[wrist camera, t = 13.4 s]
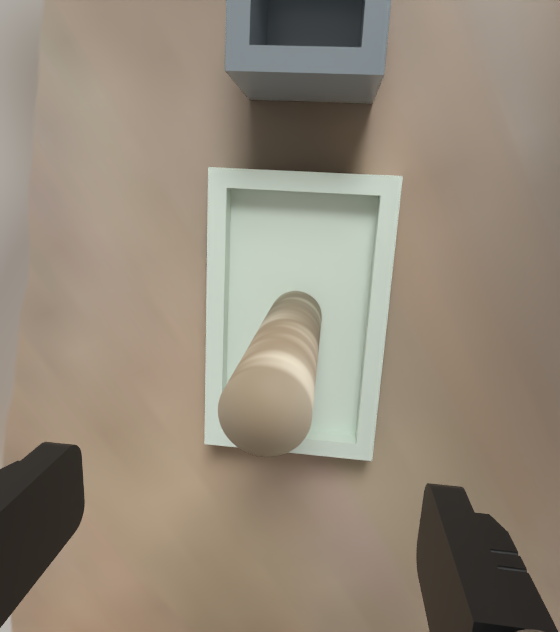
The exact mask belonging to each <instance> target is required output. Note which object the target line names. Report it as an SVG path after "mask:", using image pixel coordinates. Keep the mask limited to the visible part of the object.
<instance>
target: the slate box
mask: <svg viewBox="0 0 560 632" xmlns="http://www.w3.org/2000/svg"><path fill="white" fill-rule="evenodd" d="M390 6H391V0H226V42H225V71H226V73H227V74H228V75H229V76H230V77H231V79H232V80H233V81H234V82H235V83H236V84H237V86H238V87H239V88H240V89H241V90H242V92H243V93H244V94H245V95H246V96H247V97H248V99H249V100H276V101H307V102H338V103H369V104H373V101H374V99H375V96H376V94H377V91H378V89H379V86H380V84H381V81H382V79H383V76H384V70H385V60H386V49H387V38H388V28H389V17H390Z"/></svg>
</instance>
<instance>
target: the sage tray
mask: <svg viewBox="0 0 560 632" xmlns="http://www.w3.org/2000/svg"><path fill="white" fill-rule="evenodd" d="M402 178H403V176H389V175H368V174H346V173H324V172H303V171H281V170H260V169H238V168H216V167H208V222H207V297H206V372H205V444H209V445H219V446H229V447H237V446H235V445H234V444H233V443H232V442H231V441H230V440H229V439H228V438H227V436H226V435H225V433H224V432H223V430H222V428H221V425H220V422H219V418H218V403H219V399H220V396H221V393H222V392H223V390H224V388H225V386H226V385H227V383H228V381H229V379H230V378H231V376H232V374H233V372H234V371H235V369H236V367H237V366H238V364H239V362H240V360H241V359H242V357H243V355H244V353H245V352H246V350H247V348H248V346H249V345H250V343H251V341H252V340H253V338H254V336H255V334H256V333H257V331H258V329H259V327H260V326H261V324H262V322H263V320H264V319H265V317H266V315H267V314H268V312H269V310H270V308H271V307H272V305H273V303H274V302H275V300H276V299H277V298H278V297H279V296H281V295H282V294H284V293H286V292H290V291H301V292H304V293H307V294H309V295H310V296H312V297H313V298H314V299H315V300H316V301H317V303H318V304H319V306H320V309H321V313H322V321H321V331H320V342H319V352H318V362H317V373H316V383H315V393H314V403H313V414H312V422H311V427H310V430H309V432H308V434H307V436H306V437H305V439H304V440H303V441H302V443H301V444H300V445H299V446H297V447H296V448H295V449H293V450H292V451H290V452H288V453H297V454H307V455H317V456H327V457H337V458H346V459H356V460H366V461H372V457H373V448H374V439H375V429H376V420H377V411H378V402H379V392H380V383H381V374H382V364H383V355H384V346H385V336H386V327H387V318H388V308H389V299H390V290H391V281H392V271H393V262H394V253H395V243H396V234H397V225H398V215H399V206H400V197H401V187H402Z"/></svg>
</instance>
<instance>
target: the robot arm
mask: <svg viewBox="0 0 560 632" xmlns="http://www.w3.org/2000/svg"><path fill="white" fill-rule="evenodd" d="M84 504H85V503H84V485H83V470H82V455H81V450H80V448H79V447H78V446H77V445H71V444H61V443H52V442H44V443H42V444H40V445H39V446H38V447H37V448H35V449H34V450H33V451H32V452H31V453H29V454H28V455H27V456H26V457H25V458H24V459H22V460H21V461H16V462H14V463H12V464H10V465H8V466H6V467H4V468H2V469H0V627H1V626H2V625H3V624H4V622H5V621H6V620H7V619H8V617H9V616H10V615H11V613H12V612H13V611H14V610H15V608H16V607H17V606H18V605H19V603H20V602H21V601H22V599H23V598H24V597H25V596H26V594H27V593H28V592H29V590H30V589H31V588H32V587H33V585H34V584H35V583H36V581H37V580H38V579H39V578H40V576H41V575H42V574H43V573H44V571H45V570H46V569H47V567H48V566H49V565H50V564H51V562H52V561H53V560H54V558H55V557H56V556H57V555H58V553H59V552H60V551H61V550H62V548H63V547H64V546H65V544H66V543H67V542H68V541H69V539H70V538H71V537H72V535H73V534H74V533H75V531H76V530H77V528H78V527H79V524H80V522H81V519H82V516H83V512H84ZM417 572H418V578H419V583H420V587H421V592H422V597H423V602H424V606H425V611H426V616H427V621H428V625H429V630H430V632H558V630H557V628H556V626H555V624H554V622H553V620H552V618H551V616H550V614H549V612H548V610H547V608H546V606H545V604H544V602H543V601H542V599H541V597H540V595H539V593H538V591H537V589H536V587H535V585H534V583H533V581H532V579H531V577H530V575H529V573H527V571H526V567H525V565H524V563H523V561H522V559H521V557H520V556H518V551H517V549H516V547H515V545H514V543H513V541H512V539H511V537H510V535H509V533H508V532H507V531H506V530H505V529H504V528H503V527H502V526H501V525H500V524H499V523H498V522H497V521H496V520H495V519H494V518H493V517H492V516H490V515H489V514H482V513H474V510H473V508H472V506H471V503H470V501H469V499H468V496H467V494H466V492H465V490H464V488H463V487H457V486H448V485H438V484H429V483H428V484H427V485H426V487H425V491H424V497H423V504H422V511H421V519H420V526H419V533H418V540H417Z"/></svg>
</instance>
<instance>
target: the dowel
mask: <svg viewBox="0 0 560 632" xmlns="http://www.w3.org/2000/svg"><path fill="white" fill-rule="evenodd" d="M321 321H322V313H321V309H320V306H319V304H318V303H317V301H316V300H315V299H314V298H313V297H312V296H310V295H309V294H307V293H304V292H301V291H290V292H286V293H284V294H282V295H281V296H279V297H278V298H277V299H276V300H275V302H274V303H273V305H272V307H271V308H270V310H269V312H268V314H267V315H266V317H265V319H264V320H263V322H262V324H261V326H260V327H259V329H258V331H257V333H256V334H255V336H254V338H253V340H252V341H251V343H250V345H249V346H248V348H247V350H246V352H245V353H244V355H243V357H242V359H241V360H240V362H239V364H238V366H237V367H236V369H235V371H234V372H233V374H232V376H231V378H230V379H229V381H228V383H227V385H226V386H225V388H224V390H223V392H222V393H221V396H220V399H219V403H218V418H219V422H220V425H221V428H222V430H223V432H224V433H225V435H226V436H227V438H228V439H229V440H230V441H231V442H232V443H233V444H234V445H235V446H237V447H238V448H239V449H241V450H243V451H245V452H247V453H249V454H252V455H256V456H261V457H274V456H279V455H283V454H286V453H288V452H290V451H292V450H293V449H295V448H296V447H297V446H299V445H300V444H301V443H302V441H303V440H304V439H305V437H306V436H307V434H308V432H309V430H310V427H311V422H312V414H313V403H314V393H315V383H316V373H317V362H318V352H319V342H320V331H321Z"/></svg>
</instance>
